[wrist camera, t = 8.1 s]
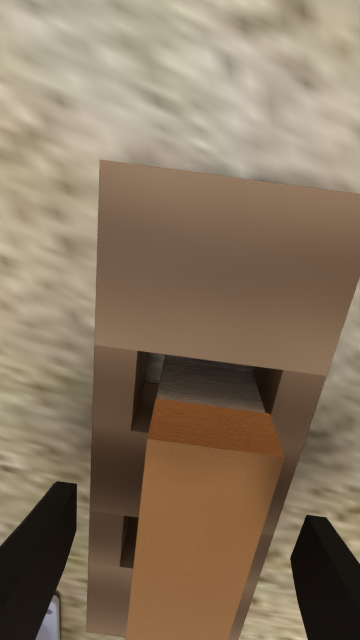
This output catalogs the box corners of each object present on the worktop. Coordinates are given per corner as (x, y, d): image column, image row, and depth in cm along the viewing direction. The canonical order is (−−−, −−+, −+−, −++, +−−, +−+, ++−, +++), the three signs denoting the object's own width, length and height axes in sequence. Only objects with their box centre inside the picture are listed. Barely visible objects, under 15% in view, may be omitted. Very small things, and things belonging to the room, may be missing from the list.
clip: (209, 505, 16) (216, 675, 10) (149, 496, 16) (123, 662, 10) (244, 341, 12) (285, 457, 7) (169, 331, 12) (147, 438, 7)
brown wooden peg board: (228, 580, 17) (234, 651, 15) (103, 563, 17) (86, 632, 15) (334, 198, 10) (385, 197, 8) (125, 171, 10) (99, 159, 8)
